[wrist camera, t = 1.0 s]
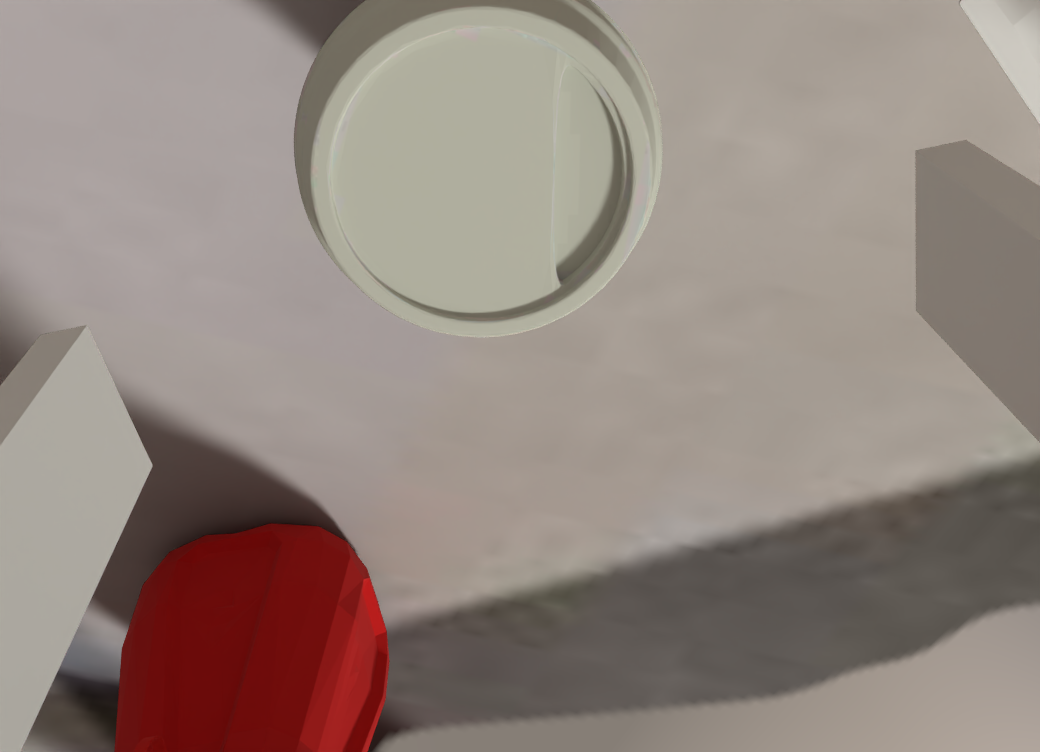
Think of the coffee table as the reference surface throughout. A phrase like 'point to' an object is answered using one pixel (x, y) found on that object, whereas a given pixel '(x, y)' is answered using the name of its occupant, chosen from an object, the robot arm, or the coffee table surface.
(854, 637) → the coffee table surface
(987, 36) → the heart sculpture
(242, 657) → the water bottle
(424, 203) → the coffee cup
